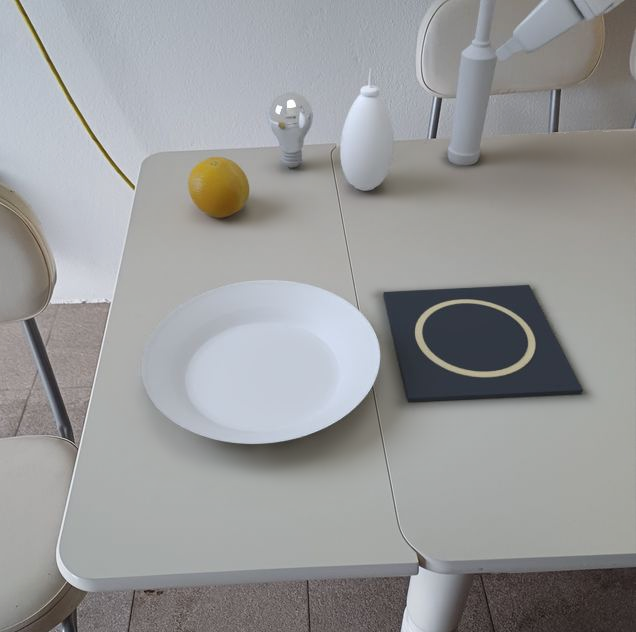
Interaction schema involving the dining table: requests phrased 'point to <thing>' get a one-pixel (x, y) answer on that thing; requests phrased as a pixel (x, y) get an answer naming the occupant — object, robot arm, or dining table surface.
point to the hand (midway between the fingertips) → (508, 45)
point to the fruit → (218, 187)
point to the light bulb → (290, 125)
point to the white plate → (260, 361)
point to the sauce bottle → (367, 140)
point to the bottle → (473, 91)
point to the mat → (476, 344)
